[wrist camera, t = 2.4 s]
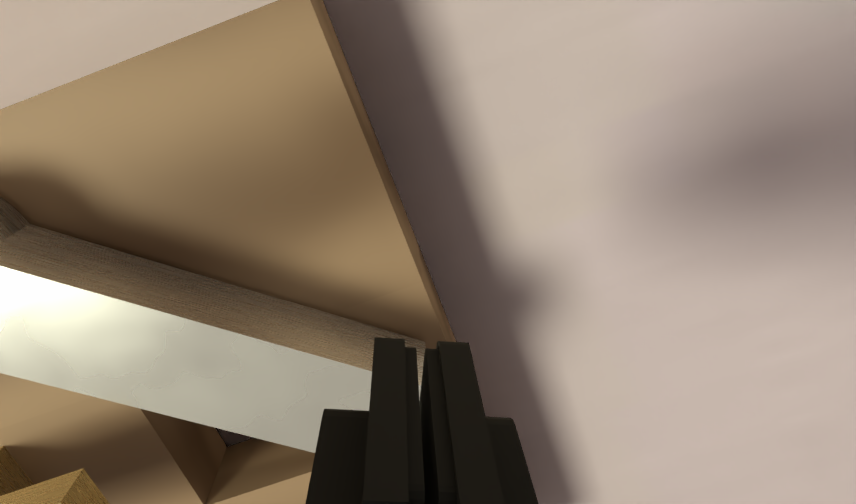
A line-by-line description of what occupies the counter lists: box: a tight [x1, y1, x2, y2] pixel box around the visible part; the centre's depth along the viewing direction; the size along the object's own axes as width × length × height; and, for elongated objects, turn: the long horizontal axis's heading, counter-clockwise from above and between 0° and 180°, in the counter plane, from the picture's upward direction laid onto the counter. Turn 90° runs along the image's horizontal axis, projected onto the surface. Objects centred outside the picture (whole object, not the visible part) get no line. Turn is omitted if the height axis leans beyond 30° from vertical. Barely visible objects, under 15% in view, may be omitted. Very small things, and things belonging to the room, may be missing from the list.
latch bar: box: [0, 196, 426, 453], centre depth 17 cm, size 15×4×2 cm, turn 70°
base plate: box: [0, 0, 456, 504], centre depth 19 cm, size 21×17×7 cm
